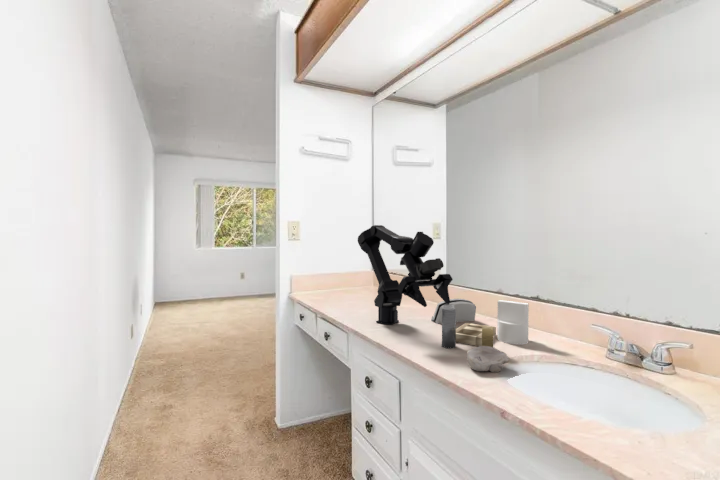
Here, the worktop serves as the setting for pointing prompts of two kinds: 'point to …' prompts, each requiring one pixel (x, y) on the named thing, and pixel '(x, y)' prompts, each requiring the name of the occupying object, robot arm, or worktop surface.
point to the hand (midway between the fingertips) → (437, 304)
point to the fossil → (486, 359)
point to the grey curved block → (457, 310)
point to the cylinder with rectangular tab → (512, 322)
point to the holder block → (471, 334)
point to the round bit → (448, 326)
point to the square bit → (487, 336)
